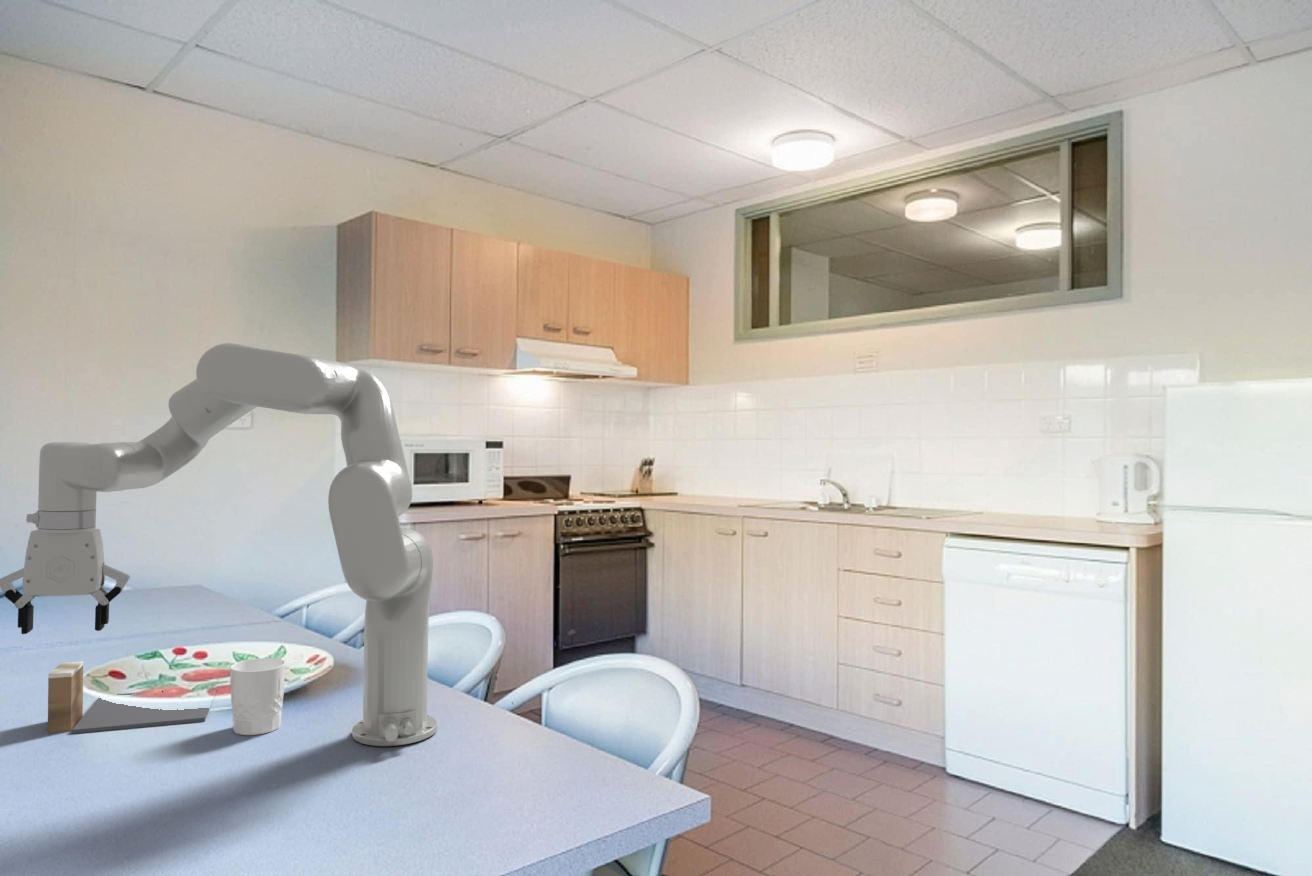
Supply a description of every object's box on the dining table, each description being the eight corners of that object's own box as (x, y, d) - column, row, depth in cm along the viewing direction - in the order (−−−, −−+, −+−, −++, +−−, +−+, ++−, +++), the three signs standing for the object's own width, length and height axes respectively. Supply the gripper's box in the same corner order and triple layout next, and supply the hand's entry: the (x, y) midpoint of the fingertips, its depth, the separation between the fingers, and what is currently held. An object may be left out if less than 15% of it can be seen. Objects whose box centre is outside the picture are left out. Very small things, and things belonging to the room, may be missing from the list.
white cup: (217, 731, 134) (218, 666, 133) (262, 716, 140) (262, 655, 140) (251, 740, 130) (252, 674, 130) (295, 725, 137) (296, 662, 137)
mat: (204, 721, 138) (204, 717, 138) (72, 733, 131) (72, 729, 131) (217, 689, 155) (217, 686, 155) (100, 699, 148) (100, 695, 148)
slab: (70, 731, 133) (71, 672, 133) (47, 733, 132) (48, 674, 131) (82, 717, 139) (83, 661, 139) (60, 718, 138) (61, 662, 138)
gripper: (-9, 524, 128) (-12, 639, 129) (125, 523, 135) (122, 633, 135) (8, 519, 135) (5, 628, 136) (135, 518, 142) (132, 622, 142)
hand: (63, 630), depth 135 cm, fingers open, 9 cm apart
